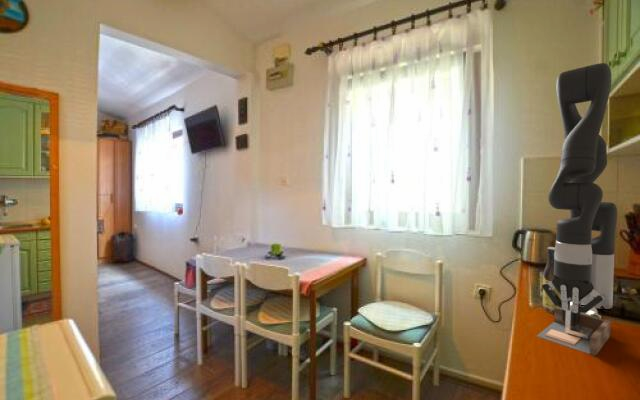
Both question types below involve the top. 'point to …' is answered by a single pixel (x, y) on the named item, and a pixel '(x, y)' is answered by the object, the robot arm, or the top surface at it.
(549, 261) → the sauce bottle
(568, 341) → the grey base plate
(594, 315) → the pipe fitting
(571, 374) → the top surface
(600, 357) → the top surface
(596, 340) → the walnut corner walls
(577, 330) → the aluminium bracket
